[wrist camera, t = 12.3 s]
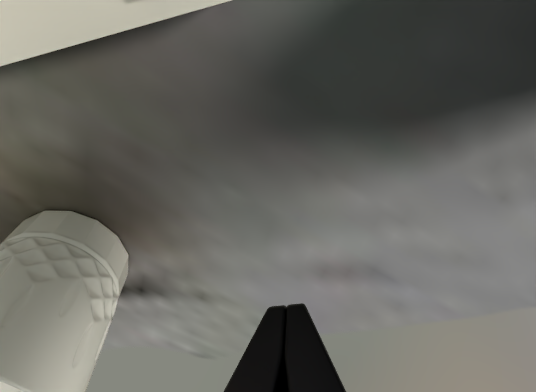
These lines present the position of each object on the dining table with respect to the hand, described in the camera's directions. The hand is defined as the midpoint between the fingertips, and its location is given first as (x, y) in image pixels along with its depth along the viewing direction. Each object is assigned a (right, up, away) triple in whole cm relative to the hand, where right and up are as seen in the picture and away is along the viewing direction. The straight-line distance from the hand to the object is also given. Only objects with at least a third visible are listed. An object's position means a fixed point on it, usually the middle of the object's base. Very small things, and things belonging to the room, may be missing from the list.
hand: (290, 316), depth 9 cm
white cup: (-12, -1, +15) cm, 20 cm away
